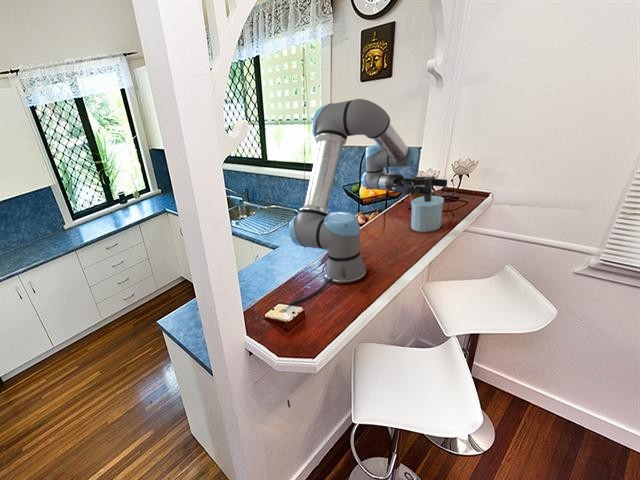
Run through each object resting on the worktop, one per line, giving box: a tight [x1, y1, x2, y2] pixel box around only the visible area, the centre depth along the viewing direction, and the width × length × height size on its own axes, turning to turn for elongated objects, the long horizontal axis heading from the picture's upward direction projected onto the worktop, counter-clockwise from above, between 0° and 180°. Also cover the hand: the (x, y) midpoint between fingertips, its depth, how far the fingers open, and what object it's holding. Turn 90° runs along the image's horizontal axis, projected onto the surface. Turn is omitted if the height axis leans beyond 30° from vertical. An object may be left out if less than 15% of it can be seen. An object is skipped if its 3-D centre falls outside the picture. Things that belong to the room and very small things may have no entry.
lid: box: [410, 176, 445, 207], centre depth 144 cm, size 12×12×11 cm
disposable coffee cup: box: [409, 183, 424, 208], centre depth 170 cm, size 10×10×12 cm
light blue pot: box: [410, 202, 444, 233], centre depth 149 cm, size 11×11×12 cm
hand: (438, 187), depth 139 cm, fingers open, 9 cm apart
